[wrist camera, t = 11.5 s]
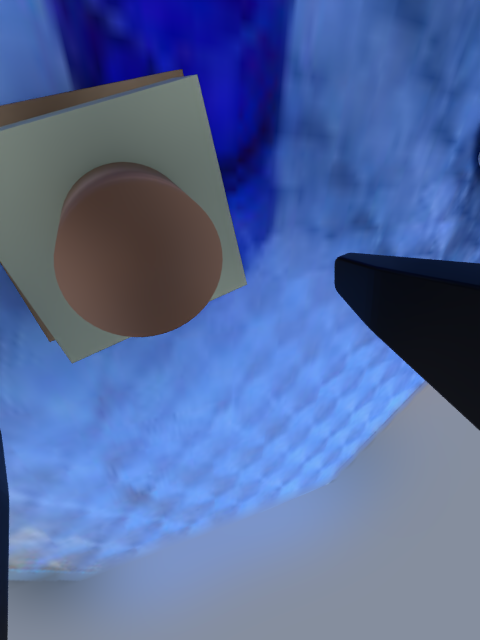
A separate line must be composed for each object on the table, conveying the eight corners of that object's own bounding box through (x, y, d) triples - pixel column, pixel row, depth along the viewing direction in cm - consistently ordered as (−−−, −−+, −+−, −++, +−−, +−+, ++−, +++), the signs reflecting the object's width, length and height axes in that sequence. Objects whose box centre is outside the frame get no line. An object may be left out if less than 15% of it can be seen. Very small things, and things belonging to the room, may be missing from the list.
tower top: (173, 78, 15) (197, 74, 13) (223, 263, 20) (246, 284, 18) (-56, 142, 13) (-76, 152, 11) (68, 330, 18) (72, 363, 16)
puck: (170, 144, 13) (198, 158, 10) (206, 264, 16) (237, 304, 13) (32, 186, 12) (15, 215, 9) (96, 304, 15) (101, 358, 12)
